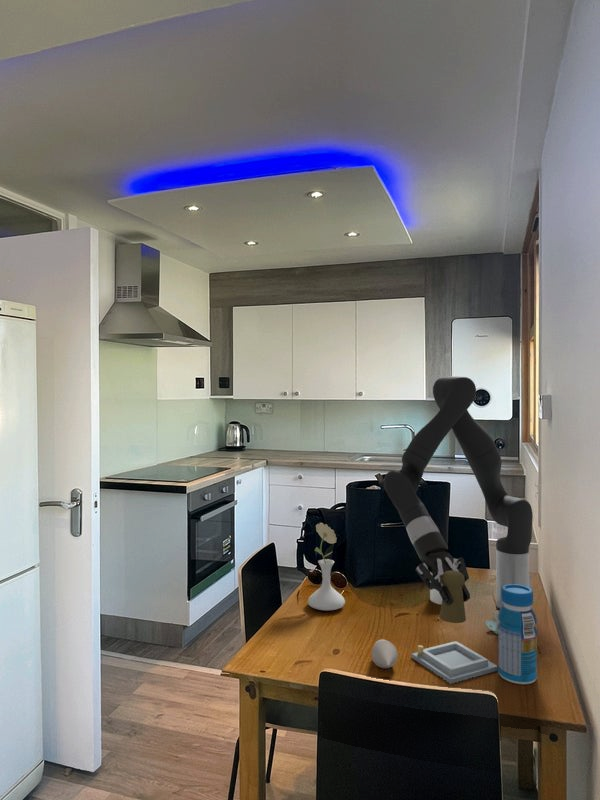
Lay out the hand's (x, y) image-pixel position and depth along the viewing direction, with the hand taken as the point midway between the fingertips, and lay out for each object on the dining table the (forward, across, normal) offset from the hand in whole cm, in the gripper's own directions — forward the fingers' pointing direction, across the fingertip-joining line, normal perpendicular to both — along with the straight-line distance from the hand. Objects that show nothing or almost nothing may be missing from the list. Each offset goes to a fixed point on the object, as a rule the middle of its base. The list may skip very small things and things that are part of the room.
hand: (458, 601), depth 131 cm
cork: (+2, 0, +5) cm, 5 cm away
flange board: (+10, 0, +12) cm, 16 cm away
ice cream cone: (+6, -16, +16) cm, 23 cm away
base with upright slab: (-14, +26, +36) cm, 47 cm away
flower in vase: (-22, -10, +45) cm, 51 cm away
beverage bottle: (+18, +9, +4) cm, 20 cm away
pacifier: (+4, +24, +18) cm, 30 cm away
